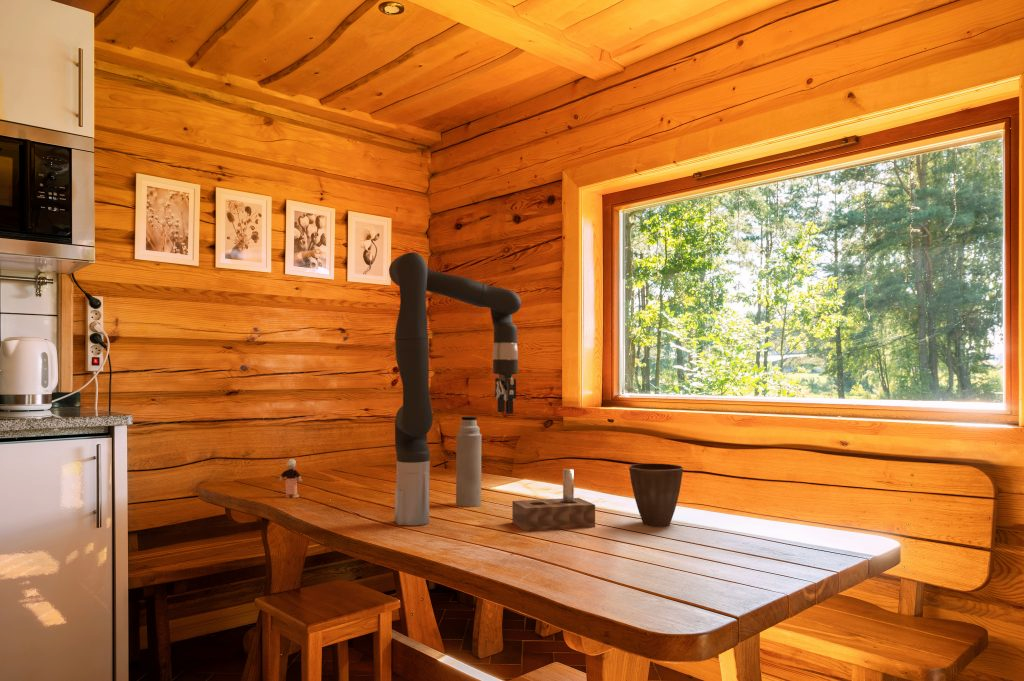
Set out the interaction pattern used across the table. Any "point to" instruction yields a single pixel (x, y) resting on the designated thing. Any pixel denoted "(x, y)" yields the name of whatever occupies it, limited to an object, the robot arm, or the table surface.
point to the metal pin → (568, 486)
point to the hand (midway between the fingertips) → (505, 412)
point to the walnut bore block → (552, 514)
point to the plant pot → (656, 491)
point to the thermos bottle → (468, 463)
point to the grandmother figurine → (291, 479)
